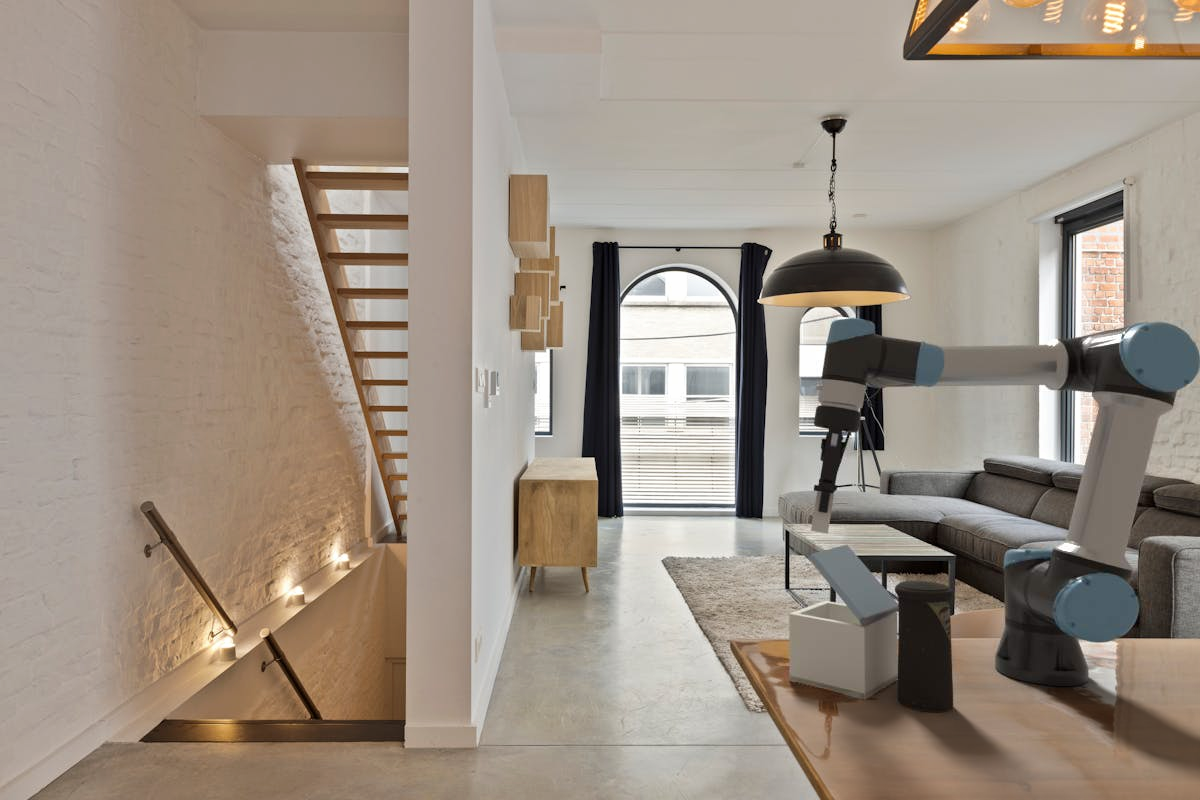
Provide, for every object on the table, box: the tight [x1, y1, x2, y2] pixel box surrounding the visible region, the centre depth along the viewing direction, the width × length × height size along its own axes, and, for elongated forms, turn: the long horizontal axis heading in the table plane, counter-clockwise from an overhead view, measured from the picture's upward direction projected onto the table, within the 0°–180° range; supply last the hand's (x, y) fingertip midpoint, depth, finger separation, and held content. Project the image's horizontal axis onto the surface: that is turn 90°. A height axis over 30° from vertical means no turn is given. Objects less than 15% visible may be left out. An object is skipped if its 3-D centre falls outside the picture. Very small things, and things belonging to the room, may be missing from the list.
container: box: [894, 580, 954, 713], centre depth 128 cm, size 9×9×20 cm
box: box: [788, 600, 898, 701], centre depth 140 cm, size 14×14×12 cm
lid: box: [807, 544, 899, 626], centre depth 139 cm, size 15×14×1 cm
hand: (819, 528), depth 134 cm, fingers open, 13 cm apart
